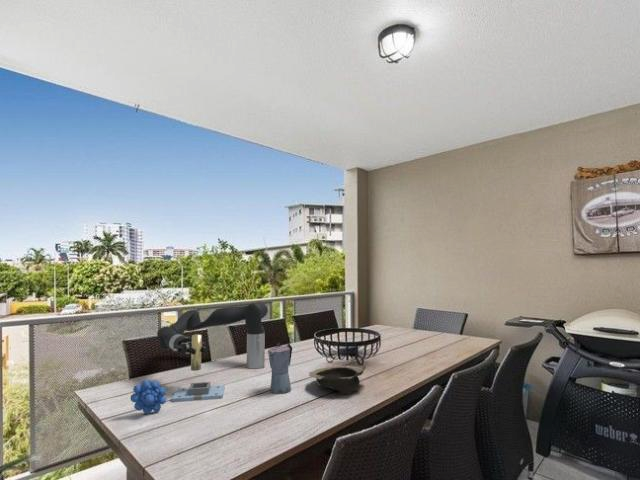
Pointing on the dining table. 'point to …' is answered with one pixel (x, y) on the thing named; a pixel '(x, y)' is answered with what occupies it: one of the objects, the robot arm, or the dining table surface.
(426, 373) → the dining table surface
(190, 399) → the square socket mounting plate
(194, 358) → the pin
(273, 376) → the moka pot
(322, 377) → the stone bowl
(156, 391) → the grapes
